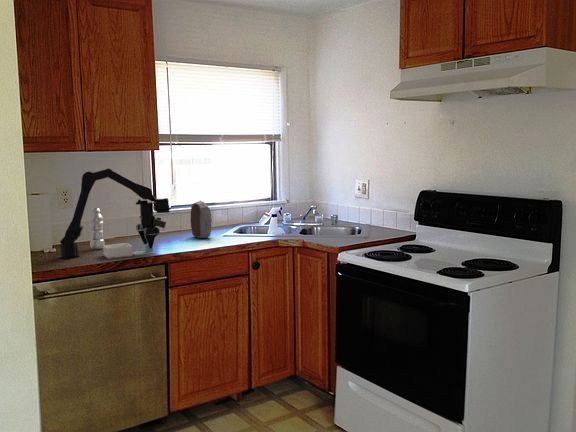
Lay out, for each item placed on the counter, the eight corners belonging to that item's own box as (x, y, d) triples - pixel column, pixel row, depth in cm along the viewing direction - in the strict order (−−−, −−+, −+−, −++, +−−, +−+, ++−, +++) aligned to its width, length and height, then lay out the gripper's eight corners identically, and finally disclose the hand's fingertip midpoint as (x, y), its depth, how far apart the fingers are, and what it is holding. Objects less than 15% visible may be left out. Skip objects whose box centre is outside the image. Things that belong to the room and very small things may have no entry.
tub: (107, 258, 245) (107, 248, 245) (103, 255, 253) (103, 245, 253) (132, 255, 251) (132, 245, 250) (128, 252, 258) (127, 243, 258)
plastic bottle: (88, 249, 269) (85, 208, 267) (101, 247, 274) (99, 207, 271) (94, 251, 265) (91, 209, 262) (107, 249, 269) (105, 208, 267)
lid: (134, 256, 252) (134, 247, 251) (130, 253, 258) (130, 244, 258) (154, 254, 256) (154, 245, 256) (150, 251, 263) (150, 242, 262)
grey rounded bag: (189, 236, 303) (188, 200, 300) (203, 235, 308) (201, 199, 305) (202, 240, 291) (201, 202, 288) (216, 238, 296) (215, 201, 293)
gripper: (169, 214, 252) (171, 248, 254) (158, 210, 268) (159, 242, 270) (145, 216, 247) (147, 250, 249) (135, 212, 263) (136, 244, 265)
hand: (148, 247), depth 258 cm, fingers open, 9 cm apart
